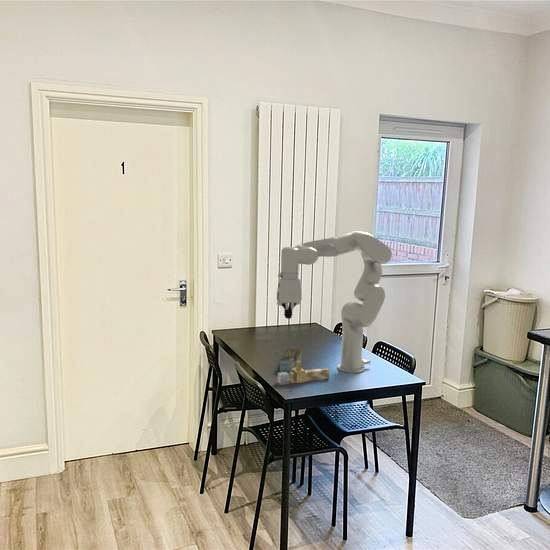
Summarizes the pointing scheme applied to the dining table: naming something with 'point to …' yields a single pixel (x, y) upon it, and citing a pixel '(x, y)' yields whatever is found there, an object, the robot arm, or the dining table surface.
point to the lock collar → (299, 373)
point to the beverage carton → (290, 360)
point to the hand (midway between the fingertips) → (288, 317)
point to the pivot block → (283, 378)
